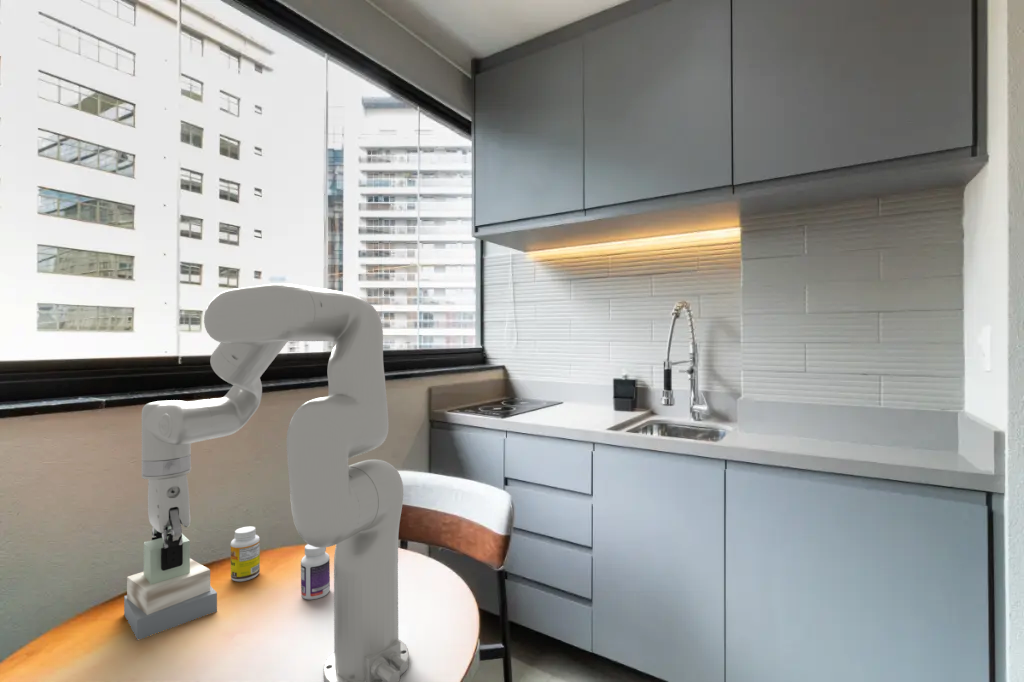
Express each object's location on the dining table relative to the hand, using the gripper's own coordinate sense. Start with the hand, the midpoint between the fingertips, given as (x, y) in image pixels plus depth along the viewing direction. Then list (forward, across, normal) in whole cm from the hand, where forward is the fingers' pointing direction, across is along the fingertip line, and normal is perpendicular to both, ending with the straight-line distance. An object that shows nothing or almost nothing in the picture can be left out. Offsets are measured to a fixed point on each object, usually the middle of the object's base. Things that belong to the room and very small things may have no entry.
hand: (166, 561), depth 89 cm
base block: (+10, 0, -1) cm, 10 cm away
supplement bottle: (+10, +5, -15) cm, 19 cm away
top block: (+6, 0, 0) cm, 6 cm away
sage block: (+2, 0, 0) cm, 2 cm away
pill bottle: (+10, -14, -22) cm, 28 cm away
